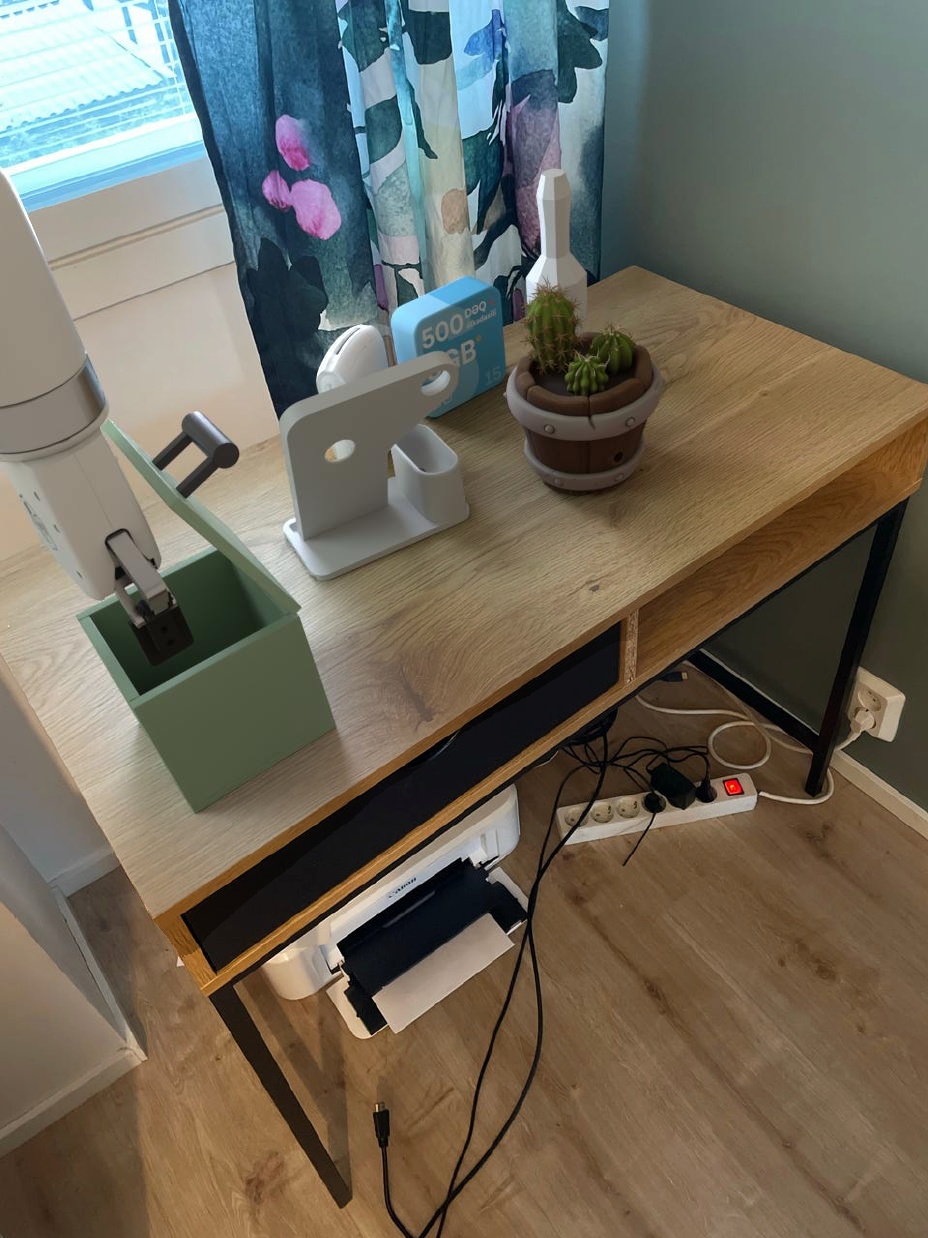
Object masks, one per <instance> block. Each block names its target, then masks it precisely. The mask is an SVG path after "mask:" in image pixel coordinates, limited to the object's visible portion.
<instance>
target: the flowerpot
mask: <svg viewBox="0 0 928 1238" xmlns="http://www.w3.org/2000/svg"><path fill="white" fill-rule="evenodd" d="M542 276H543V275H542ZM543 278H544V277H543ZM544 280H545V282H546V285H547V287H546V286H545V285H543V286H542V285H539V284H538V282H537V283H535V284H537V285H539V286H540V287H541V288H542V289H543V290H539V287H538V288H537V289H538V290H536V289H534V290H536V291H538V293H531V294H533V295H534V294H535V295H537V297H536V296H535V295H534V296H535V298H534V297H532V298H534V300H531V301H532V302H531V301H530V300H529V304H528V303H527V297H526V299H525V300H524V303H523V302H521V301H519V303H520V304H521V305H523V306H522V307H521V309H523V308H526V309H524V310H523V311H522V313H524V312H526V313H525V314H524V318H525V319H524V318H523V317H522V316H521V315H519V317H520V321H519V320H516V322H517V326H518V325H521V326H519V328H521V327H522V328H521V331H523V330H524V329H525V330H527V332H528V334H527V333H523V332H521V334H522V336H523V337H524V338H523V337H522V340H521V341H519V342H520V343H524V344H523V348H526V346H527V345H528V346H529V347H531V346H532V347H531V348H530V350H529V351H528V352H527V355H523V356H521V357H520V359H519V360H518V362H517V365H516V366H515V367H514V369H513V370H512V371H511V373H510V375H509V377H508V380H507V383H506V391H505V392H504V393H503V397H504V398H505V399H506V400H507V405H508V407H509V411H510V412H511V414H512V416H514V418H515V419H516V420H517V421H518V422H519V423H520V424H521V426H522V430H523V432H524V435H525V441H524V451H523V456H524V457H525V458H526V460H527V462H528V465H529V467H530V468H531V470H532V471H533V473H534V474H535V475H536V476H537V477H539V479H540V480H541V481H542V482H543V483H544V485H545V486H546V487H548V488H550V489H553V490H554V491H556V492H558V493H561V494H563V493H565V492H569V494H571V495H573V496H582V495H586V494H587V493H588V492H589V493H591V494H593V495H595V494H596V495H597V494H602V493H603V494H604V493H606V492H609V491H612V490H613V489H616V488H617V487H619V486H621V485H622V484H623V483H625V482H626V481H627V480H628V478H629V477H630V476H631V475H632V474H633V473H634V472H635V471H636V469H637V468H638V466H639V465H640V462H641V460H642V457H643V455H644V451H645V448H646V446H647V444H646V439H645V434H644V430H645V428H646V425H647V423H648V419H649V418H650V417H651V416H652V415H653V413H655V411H656V409H657V408H658V406H659V404H660V400H661V398H662V394H663V388H664V385H665V383H666V379H665V378H664V377H663V376H662V373H661V370H660V368H659V366H658V365H657V364H656V363H655V361H653V359H652V358H651V357H652V356H651V354H650V352H649V350H648V349H647V348H646V346H645V345H642V344H637V343H636V341H635V339H634V338H633V335H632V334H633V332H632V331H631V330H630V329H627V328H626V331H627V333H628V335H629V336H628V335H627V334H625V333H622V332H625V328H623V327H621V326H622V325H619V326H618V327H617V329H615V325H617V322H612V323H609V322H607V321H605V323H606V325H607V327H606V326H604V327H602V328H601V329H603V330H604V331H602V330H601V329H598V331H584V333H581V334H580V335H579V337H578V335H577V334H578V332H577V334H575V329H576V325H577V324H578V323H579V322H580V323H581V319H582V318H583V317H584V316H583V317H582V318H581V319H580V318H579V319H578V314H577V316H576V317H577V319H576V317H575V315H574V310H575V309H576V308H577V306H578V305H580V304H579V303H578V304H577V305H575V303H576V302H579V301H576V300H574V301H575V302H574V301H573V302H574V304H573V302H572V299H571V302H570V300H569V299H568V300H567V299H566V298H565V297H563V296H565V295H568V294H565V293H567V292H566V291H565V290H566V289H565V290H564V291H563V293H562V289H561V290H559V286H560V284H558V285H556V286H554V287H552V286H551V287H552V288H551V287H550V284H549V289H548V283H549V281H548V276H547V281H546V279H545V278H544ZM533 283H534V282H533ZM542 284H543V283H542ZM544 286H545V287H544ZM557 286H558V288H557V289H558V290H557V291H556V289H555V288H556V287H557ZM544 288H545V289H544ZM546 288H547V290H546ZM550 288H551V289H550ZM560 288H561V287H560ZM554 289H555V291H556V292H553V291H554ZM567 289H568V288H567ZM552 290H553V291H552ZM541 291H542V292H541ZM543 291H544V292H543ZM559 292H561V293H559ZM568 292H569V291H568ZM571 295H572V294H571ZM569 296H570V295H569ZM529 297H531V296H529ZM566 297H567V296H566ZM574 299H576V298H574ZM530 302H531V303H530ZM581 304H583V303H581ZM579 307H580V306H579ZM578 309H579V308H578ZM580 310H581V309H580ZM581 311H582V310H581ZM575 312H576V311H575ZM581 315H582V313H581ZM580 317H581V316H580ZM587 319H588V318H587V317H586V319H585V321H586V320H587ZM579 320H580V321H579ZM583 321H584V320H582V322H583ZM580 323H579V324H580ZM578 326H579V325H578ZM580 326H582V324H580ZM581 328H582V327H581ZM609 328H610V331H609V330H608V329H609ZM577 329H578V327H577ZM620 330H621V331H620ZM581 331H582V330H581ZM599 331H600V332H599ZM524 334H525V335H524ZM576 335H577V336H576ZM634 341H635V342H634Z"/></svg>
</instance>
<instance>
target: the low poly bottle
mask: <svg viewBox="0 0 928 1238" xmlns="http://www.w3.org/2000/svg"><path fill="white" fill-rule="evenodd" d="M566 173H567V172H566V171H564V170H563V169H561V168H550V169H547V170H544V171H543V172H542V173H541V174H540V177H539V181H538V187H537V190H536V193H535V195H536V203H537V211H538V218H539V219H538V220H539V227H540V228H539V230H540V246H541V247H540V253H541V254H540V255H539V258H537V260H536V261H535V263H534V265H533V266H532V268H531V269H530V271H529V272H528V274H527V275H526V277H525V285H526V298H527V299H526V303H528V304H529V300H530V301H531V300H534V298H535V296H536V297H537V295H535V294H534V295H535V296H534V295H533V294H531V293H538V291H536V290H538V289H537V288H538V287H539V290H543V289H542V288H541V287H540V286H539V285H542V286H543V285H545V286H546V287H547V285H546V282H545V280H544V278H545V279H546V281H547V276H548V281H549V283H548V289H549V284H550V287H551V286H552V287H554V286H556V285H558V284H560V286H559V290H561V289H562V293H563V291H564V290H565V289H566V290H565V291H566V292H567V293H565V294H568V295H565V296H563V297H565V298H566V299H567V300H568V299H569V300H570V302H571V299H572V302H573V301H574V300H576V301H579V302H576V303H575V305H577V304H578V303H579V304H580V305H578V306H577V308H576V309H575V310H574V315H575V317H576V316H577V314H578V319H579V318H580V319H581V318H582V317H583V316H584V317H583V318H582V319H581V323H580V322H579V323H580V324H582V326H580V324H579V323H578V324H577V325H576V329H575V334H577V332H578V334H577V335H578V337H579V335H580V334H581V333H584V332H585V327H586V320H587V319H586V318H587V312H588V311H587V310H588V272H587V271H586V270H585V268H584V267H583V266H582V264H580V262H579V261H578V260H577V258H576V257H575V256H574V255H573V254H572V252H571V251H570V250H571V248H570V247H571V245H570V242H571V241H570V219H571V218H570V216H571V204H572V194H573V193H572V188H571V185H570V183H569V180H568V176H567V174H566ZM542 275H543V276H542ZM543 277H544V278H543ZM533 282H534V283H533ZM537 282H538V284H539V285H537V284H535V283H537ZM542 283H543V284H542ZM545 286H544V287H545ZM552 287H551V288H552ZM560 287H561V288H560ZM551 288H550V289H551ZM557 288H558V286H557V287H556V288H555V289H556V291H557V290H558V289H557ZM567 288H568V289H567ZM534 289H536V290H534ZM544 289H545V288H544ZM555 289H554V291H553V290H552V291H553V292H556V291H555ZM546 290H547V288H546ZM568 291H569V292H568ZM541 292H542V291H541ZM543 292H544V291H543ZM559 293H561V292H559ZM571 294H572V295H571ZM569 295H570V296H569ZM529 296H531V297H529ZM566 296H567V297H566ZM532 297H534V298H532ZM574 298H576V299H574ZM531 302H532V301H531ZM531 302H530V303H531ZM574 302H575V301H574ZM574 302H573V304H574ZM581 303H583V304H581ZM579 306H580V307H579ZM578 308H579V309H578ZM580 309H581V310H582V311H581V310H580ZM575 311H576V312H575ZM581 313H582V315H581ZM580 316H581V317H580ZM576 319H577V317H576ZM585 319H586V320H585ZM582 320H584V321H583V322H582ZM579 321H580V320H579ZM578 325H579V326H578ZM577 327H578V329H577ZM581 327H582V328H581ZM581 330H582V331H581ZM577 335H576V336H577Z"/></svg>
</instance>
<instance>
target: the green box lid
mask: <svg viewBox="0 0 928 1238" xmlns="http://www.w3.org/2000/svg"><path fill="white" fill-rule="evenodd" d="M100 427H101V429H102V431H103V433H104V434H106V436H108V438H109V439H110V440H111V441H112V443H113V444H114V445H115V446H116V448H118V449H119V451H120V452H121V453H122V454H123V456H125V458H126V459H127V461H129V462H130V463H131V465H132V466H133V467H134V468H135V469H136V471H137V472H138V473H139V474H140V476H142V478H143V479H144V480H145V481H146V482H147V484H148V485H149V486H150V487H151V488H152V489H153V490H154V492H155V493H156V494H157V495H158V497H160V499H161V500H162V502H164V504H165V505H166V506H167V507H168V508H169V509H170V510H171V511H172V512H174V513H175V514H176V515H177V516H178V517H179V518H180V519H182V520H183V522H185V523H186V524H187V525H188V526H189V527H191V528H192V529H193V530H194V531H196V532H197V533H198V534H199V535H200V536H201V537H202V538H203V539H205V540H206V541H207V542H208V543H209V544H210V545H212V546H214V547H215V548H216V549H218V550H219V551H220V552H221V553H222V554H223V555H225V556H226V557H227V558H228V559H229V560H230V561H231V562H233V563H234V564H235V565H236V566H237V567H238V568H240V569H241V570H242V571H243V572H244V573H245V574H247V575H248V576H249V577H250V578H251V579H252V580H253V581H255V582H256V583H257V584H258V585H259V586H260V587H262V588H263V589H264V590H265V591H266V592H267V593H269V594H270V595H271V596H272V597H273V598H274V599H275V600H277V601H278V602H279V603H280V604H281V605H282V606H284V607H285V608H286V609H287V610H288V611H289V612H291V613H292V614H293V615H295V614H296V613H297V614H298V612H299V611H300V610H301V609H302V606H301V604H300V603H299V602H298V601H297V600H296V599H295V598H294V597H293V596H292V595H291V594H290V592H289V591H288V590H287V589H286V588H285V587H284V585H282V584H281V583H280V581H279V580H278V579H277V578H276V576H274V575H273V574H272V573H271V572H270V570H269V569H268V568H267V567H266V566H265V565H264V564H263V563H262V562H261V561H260V559H258V558H257V556H256V555H255V554H254V553H253V552H252V551H251V550H250V548H248V546H247V545H246V544H245V543H244V542H243V541H242V540H241V539H240V538H239V536H238V535H237V534H235V532H234V531H233V530H232V529H231V528H230V527H229V526H228V525H227V524H226V523H224V522H223V521H222V520H221V518H219V517H218V516H217V515H216V514H214V512H213V511H211V510H210V509H209V508H208V507H207V506H206V505H204V504H203V502H201V501H200V500H199V499H198V498H197V497H196V496H195V495H194V494H193V493H194V492H195V491H196V490H198V488H200V487H201V486H202V485H203V484H204V482H206V481H207V480H208V479H209V478H210V477H211V476H212V475H213V474H214V473H215V472H216V471H217V470H218V469H222V470H227V469H230V468H232V467H234V466H235V465H236V464H237V463H238V461H239V458H240V449H239V447H238V446H237V445H236V444H235V442H233V441H232V440H231V438H229V437H228V436H227V435H226V434H225V433H224V432H223V431H222V430H220V428H219V427H218V426H216V425H215V424H214V423H213V422H212V421H211V420H210V419H209V417H207V416H206V415H205V414H204V413H202V412H200V411H191V412H189V413H187V414H185V416H184V417H183V419H182V420H181V426H180V427H181V432H180V433H179V434H178V435H177V436H175V438H174V439H172V440H171V441H170V442H169V444H167V445H166V446H165V447H164V448H163V449H162V450H161V451H160V452H159V453H158V454H157V455H156V456H155V457H153V456H152V455H150V454H149V453H148V452H146V451H145V450H144V449H143V448H142V447H141V446H140V445H139V444H138V443H137V442H135V440H133V439H132V438H131V437H130V436H129V435H128V434H127V433H126V432H125V431H124V430H122V429H121V428H120V427H119V426H118V425H117V424H116V423H115V422H113V420H111V419H108V420H107V421H105V422H104V423H103V424H102V425H101V426H100ZM192 443H193V444H194V446H196V447H197V449H199V450H200V451H201V452H202V453H203V455H205V457H206V458H205V459H204V460H203V461H202V462H200V464H198V465H197V466H196V468H194V469H193V470H192V471H190V473H189V474H188V475H187V476H186V477H185V478H184V479H183V480H182V481H181V482H180V481H179V480H177V479H176V478H175V477H174V476H173V475H172V474H171V473H170V472H169V471H168V470H166V468H167V467H168V466H169V465H170V464H171V463H172V462H173V461H174V460H175V459H176V458H177V457H178V456H179V455H180V454H181V453H182V452H183V451H184V450H185V449H187V448H188V447H189V446H190V445H191V444H192Z"/></svg>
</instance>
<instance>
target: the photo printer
mask: <svg viewBox="0 0 928 1238" xmlns="http://www.w3.org/2000/svg"><path fill="white" fill-rule="evenodd" d="M385 346H386V345H385V341H384V338H383V336H382V334H381V333H380V332H379V330H378V329H376V328H375V327H374V326H373V325H371V324H370V325H363V324H361V323H360V324H357V325H355V326H353V327H350V328H349V329H347V330H346V331H344V333H342V334H341V335H340V336H339V337H338V338H337V339H336V340H335V342H333V344H332V345H331V346H330V348H329V349H328V351H327V352H326V354H325V355H324V358H323V359H322V361H321V363H320V365H319V368H318V371H317V375H316V380H315V381H316V388H317V392H318V394H320V393H323V392H325V391H328V390H331V389H333V388H336V387H339V386H341V385H344V384H347V383H349V382H352V381H355V380H357V379H360V378H363V377H365V376H368V375H371V374H373V373H376V372H379V371H382V370H384V369H387V368H390V367H389V361H388V357H387V351H386V347H385ZM352 446H354V442H353V441H351V440H342V441H339V442H337V443H335V444H333V445H332V446H331V447H332V450H333V454H334V458H335V459H336V460H340V459H342V458H344V457H346V456H347V455H348V454H349V449H350V448H351V447H352Z"/></svg>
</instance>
